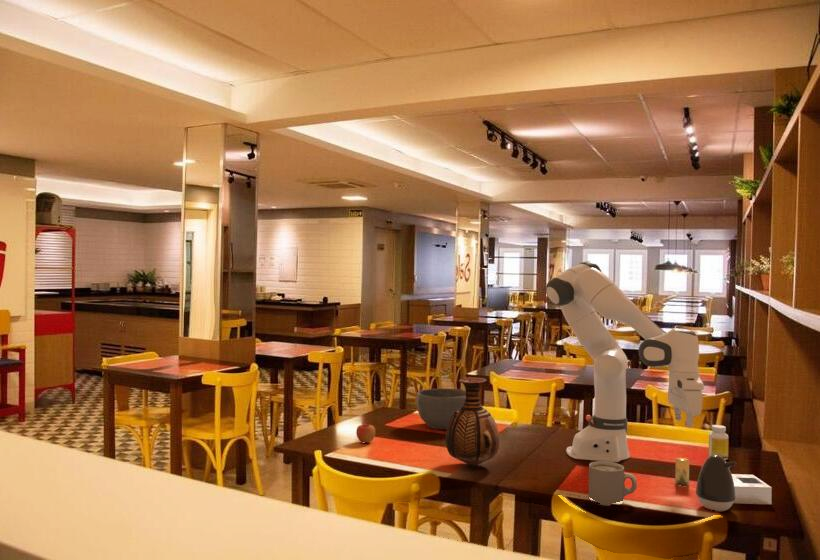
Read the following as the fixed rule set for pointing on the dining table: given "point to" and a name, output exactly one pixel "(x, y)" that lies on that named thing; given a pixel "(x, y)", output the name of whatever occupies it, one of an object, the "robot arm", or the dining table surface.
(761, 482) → the jig block
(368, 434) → the apple
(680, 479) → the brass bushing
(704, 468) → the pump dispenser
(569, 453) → the robot arm
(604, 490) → the coffee mug
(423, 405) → the bowl
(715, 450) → the pill bottle
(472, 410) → the vase
